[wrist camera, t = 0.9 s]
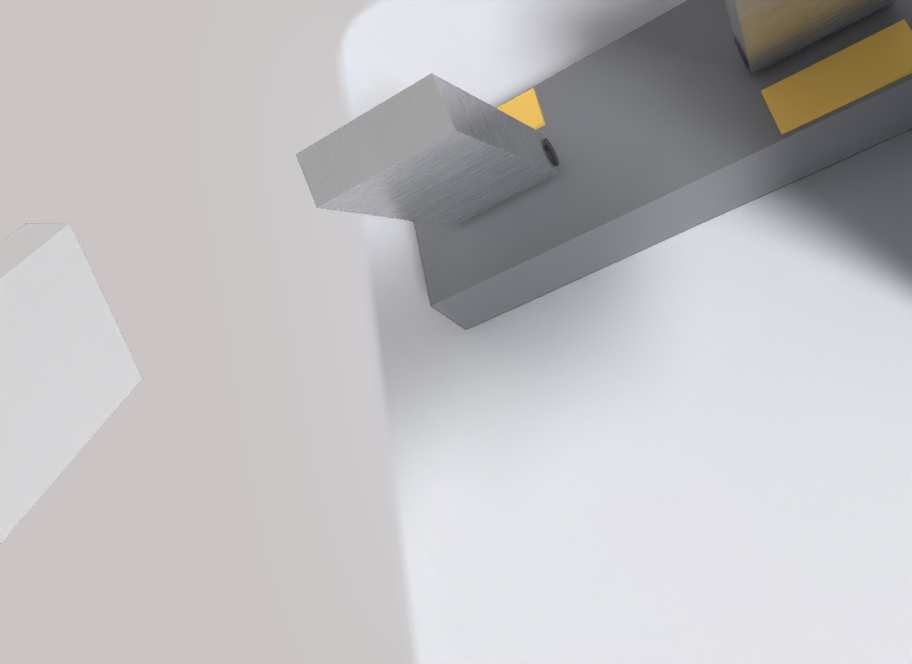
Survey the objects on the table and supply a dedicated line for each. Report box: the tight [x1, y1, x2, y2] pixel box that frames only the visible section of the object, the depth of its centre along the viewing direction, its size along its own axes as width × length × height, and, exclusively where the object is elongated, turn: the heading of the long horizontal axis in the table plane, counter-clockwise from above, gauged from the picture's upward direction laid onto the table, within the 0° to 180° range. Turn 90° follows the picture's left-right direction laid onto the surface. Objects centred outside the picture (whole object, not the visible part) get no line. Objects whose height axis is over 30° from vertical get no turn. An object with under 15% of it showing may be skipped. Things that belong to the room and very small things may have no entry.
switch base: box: [414, 0, 912, 330], centre depth 34 cm, size 8×22×3 cm, turn 102°
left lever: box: [296, 73, 559, 226], centre depth 30 cm, size 2×5×12 cm, turn 102°
